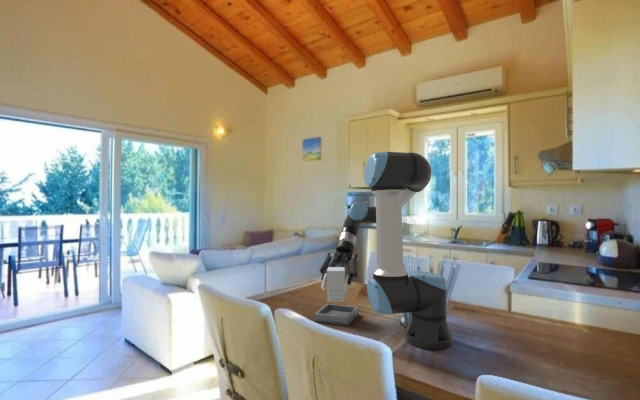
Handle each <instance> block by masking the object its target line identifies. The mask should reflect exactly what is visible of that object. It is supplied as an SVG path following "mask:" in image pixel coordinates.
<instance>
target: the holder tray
mask: <svg viewBox="0 0 640 400" xmlns="http://www.w3.org/2000/svg"><path fill="white" fill-rule="evenodd" d="M313 314H314V315H313V316H314V318H313V319H314V321H313V322H320V323H326V324H333V325H339V326H344V325H345V326H346V327H348V326H349V325H350V324H351V323H352V322H353V321H354V320H355V319H356V318H357V316H358V315H359V306H351V305H350V306H349V305H343V304H336V303H326V304H325V305H324V306H322V307H321V308H320V309H318V310H317V311H315V312H314V313H313Z"/></svg>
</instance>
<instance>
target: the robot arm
mask: <svg viewBox="0 0 640 400" xmlns="http://www.w3.org/2000/svg"><path fill="white" fill-rule="evenodd" d="M363 177H364V181H365V185H366V186H367V187H368V188H370V193H371V194H372V195H373V196H374V197H375V206H367V205H366V204H365V202H364V203H363V202H360V201H356V202H354V203H352V205H351V206H350V208H349V210H348V212H347V215H346V217H345V219H344V222H343V225H342V228H341V231H340V232H341V233H340V235H339V238H338V242H337V246H336V249H335V251H334V253H331V252H327V256H326V258H325V260H324V262H323V263H322V265H321V267H320V268H319V272H320V274H321V279H320V280H321V285H320V288H321V289H322V291H326V287H327V269H328V267H337V265H339V264H343V265H346V269H347V273H348V274H347V275H346V276H345V284H344V288H343V290H344V292H345V294H346V293H348V290H349V289H348V288H349V286H351V285H352V283H353V278H358V276H359V275H358V270H359V269H358V268H359V267H358V262H359V258H360V257H359V255H358V254H355V255H354V250H355V246H356V242H357V239H358V235H359V232H360V228H361V227H362V225H367V224H369V225H370V224H375V227H376V228H375V229H376V260H377V261H376V264H377V266H376V268H375V270H374V271H373V272H372V278H370V279H369V280H368V281H367V284H366V291H367V295H368V296H367V297H368V301H369V303H370V306H371V307H372V309H373V311H374V312H375V313H376V314H378V315H388V316H389V315H390V316H391V315H396V314H406V313H407V314H408V313H410V318H409V321H408V324H407V327H406V331H405V340H406V341H407V342H408V343H409V344H410V345H412V346H414V347H417V348H419V349H420V348H421V349H426V350H432V349H439V350H444V349H448V348H450V347H451V346H452V345H453V335H452V332H451V329H450V327H449V323H448V321H447V291H448V288H447V281H446V280H447V279H446V278H445V277H444V276H442V275H440V274H438V273H434V272H429V271H422V270H413V271H412V270H411V272H410V274H409V272H408V271H407V270H406V269H405V268H404V249H403V248H404V246H403V245H404V244H403V243H404V241H403V240H404V238H403V214H402V213H403V211H402V210H403V209H402V208H403V207H404V206H405V205H406V204H407V203H408V202H409V201H410V200H411V199H412V198H413V197H414V195H416V194H417V193H420V192H422V191H423V190H424V189H425V188H427V186H428V185H429V183H430V181H431V179H432V166H431V164H430V162H429V161H428V160H427V158H426V157H425V156H423V155H421V154H419V153H416V152H401V151H379V152H378V151H377V152H373V153H372V154H371V155H370V156H369V157H368V159H367V161H366V163H365V169H364V176H363ZM351 260H352V261H353V264H352V265H353V272H352V269H351V264H350V261H351ZM409 275H410V276H409Z"/></svg>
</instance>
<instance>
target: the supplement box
mask: <svg viewBox="0 0 640 400" xmlns="http://www.w3.org/2000/svg"><path fill="white" fill-rule="evenodd" d="M345 280H346V267H345V266H335V267H328V269H327V283H326V288H327V289H326V290H327V291H326V292H327V293H326V294H327V302H341V303H342V302H343V303H345V302H346V293H345V292H344V290H343V288H344V284H345Z"/></svg>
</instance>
